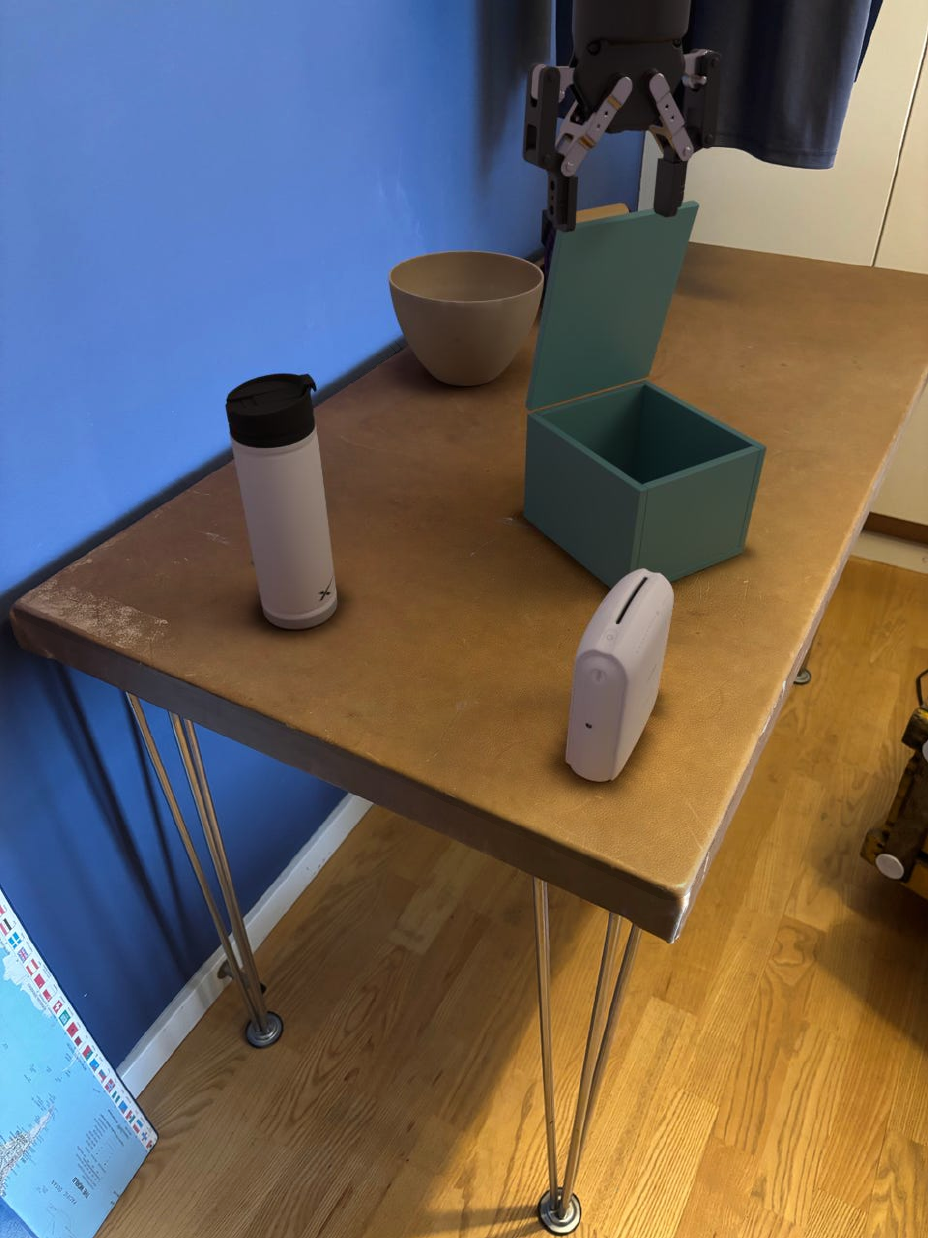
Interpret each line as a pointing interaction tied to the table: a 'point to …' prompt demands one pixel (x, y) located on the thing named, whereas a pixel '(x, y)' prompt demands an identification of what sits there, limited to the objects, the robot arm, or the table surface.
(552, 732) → the table surface
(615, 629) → the photo printer
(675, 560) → the chest
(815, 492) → the table surface
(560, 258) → the lid
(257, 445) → the travel mug
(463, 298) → the beige bowl
